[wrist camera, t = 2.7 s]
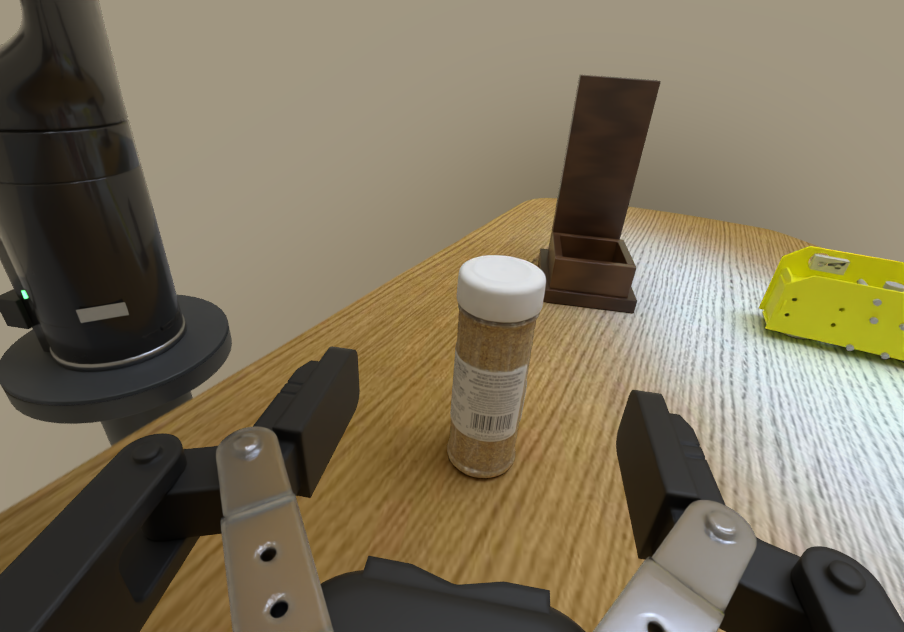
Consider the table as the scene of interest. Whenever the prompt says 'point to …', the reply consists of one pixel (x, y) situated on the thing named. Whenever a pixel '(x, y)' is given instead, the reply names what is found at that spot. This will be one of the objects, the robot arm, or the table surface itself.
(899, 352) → the yellow toy chassis
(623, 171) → the walnut stand
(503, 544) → the table surface
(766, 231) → the table surface
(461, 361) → the sprinkles bottle
